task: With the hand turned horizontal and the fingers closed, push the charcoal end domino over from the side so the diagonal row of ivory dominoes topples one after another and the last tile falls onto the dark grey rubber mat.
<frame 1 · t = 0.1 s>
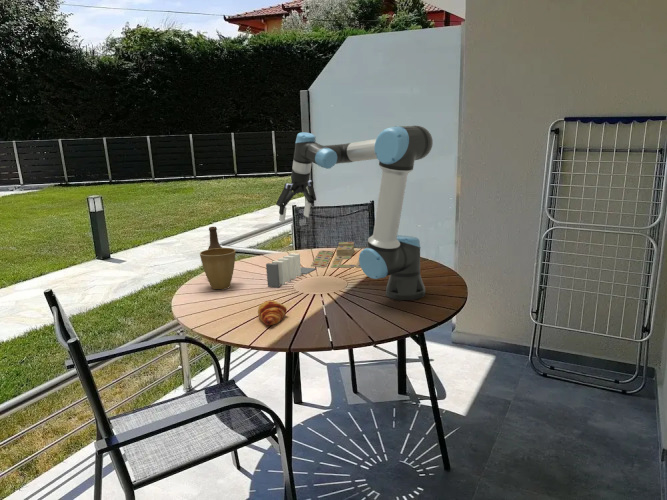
hand: (294, 218, 219), 28 cm above the table, tool tilted 20°, fingers open, 13 cm apart
domino 1: (273, 286, 219), on the table
domino 4: (290, 278, 231), on the table
domino 3: (285, 280, 227), on the table
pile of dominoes: (340, 260, 261), on the table
domino 2: (279, 283, 223), on the table
domino 5: (295, 275, 235), on the table
croissant: (272, 318, 183), on the table
plant pot: (221, 287, 222), on the table
beer bottle: (218, 279, 236), on the table
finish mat: (303, 271, 241), on the table
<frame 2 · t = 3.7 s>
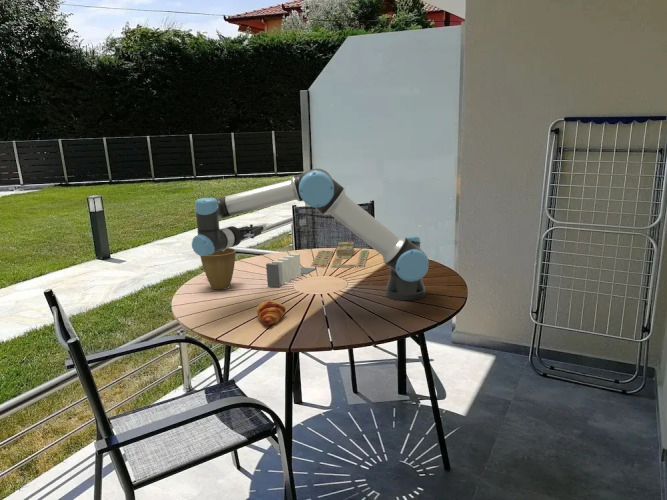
hand: (264, 226, 210), 27 cm above the table, tool horizontal, fingers closed
nothing on the table moved.
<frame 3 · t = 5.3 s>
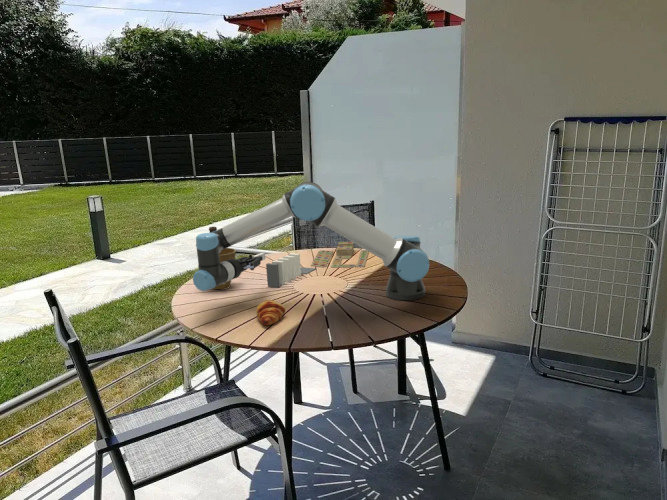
hand: (263, 256, 212), 15 cm above the table, tool horizontal, fingers closed
nothing on the table moved.
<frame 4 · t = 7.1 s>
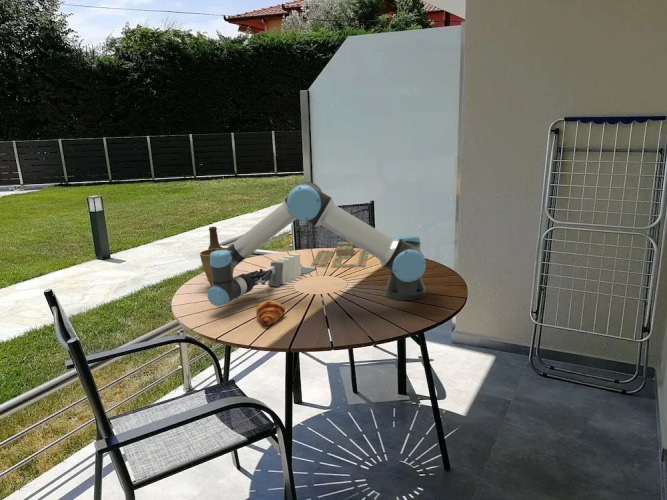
hand: (273, 269, 219), 7 cm above the table, tool horizontal, fingers closed
domino 1: (273, 286, 219), on the table, tilted 22°
domino 2: (279, 283, 223), on the table, tilted 5°
everything else where it was.
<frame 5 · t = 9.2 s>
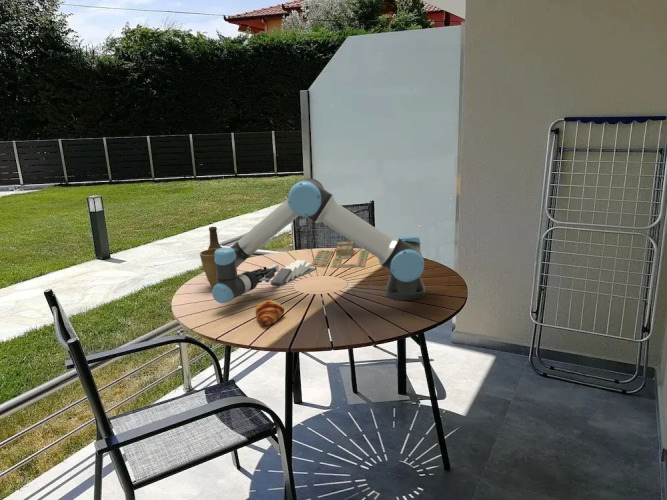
hand: (277, 267, 221), 8 cm above the table, tool horizontal, fingers closed
domino 1: (275, 284, 221), point 1 cm above the table, tilted 68°, touching domino 2
domino 4: (291, 275, 232), point 1 cm above the table, tilted 66°, touching domino 3, domino 5
domino 3: (287, 278, 229), point 1 cm above the table, tilted 66°, touching domino 2, domino 4
domino 2: (281, 281, 225), point 1 cm above the table, tilted 67°, touching domino 1, domino 3
domino 5: (296, 273, 235), point 1 cm above the table, tilted 79°, touching domino 4, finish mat
everything else where it was.
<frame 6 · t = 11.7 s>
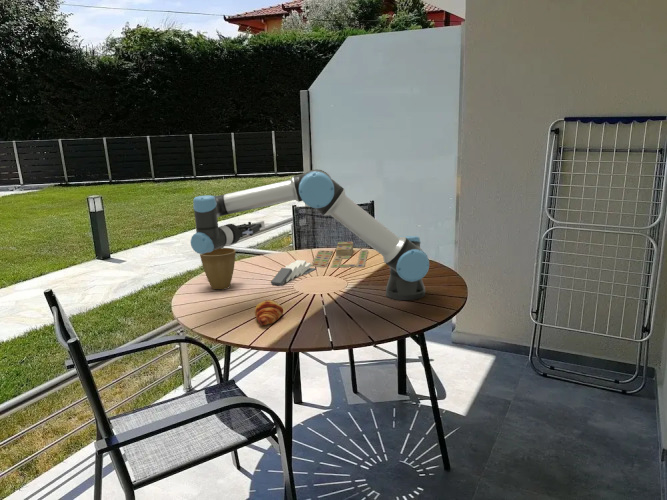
hand: (262, 223, 209), 28 cm above the table, tool horizontal, fingers closed
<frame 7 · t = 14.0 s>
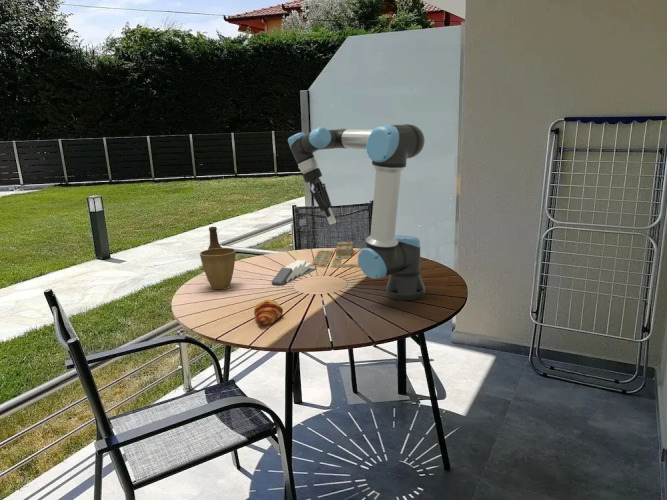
hand: (333, 223, 214), 26 cm above the table, tool tilted 20°, fingers closed
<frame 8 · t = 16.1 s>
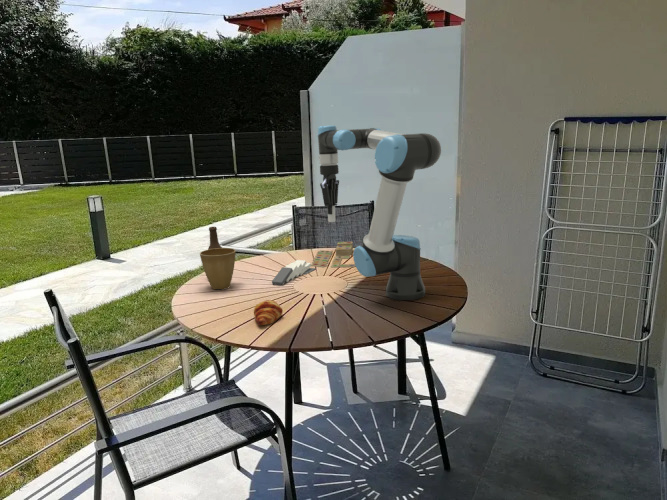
hand: (331, 221, 215), 26 cm above the table, tool pointing down, fingers closed
at the end: domino 5 tilted 79°; domino 5 6.8 cm from the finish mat (horizontally); domino 1 tilted 67° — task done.
